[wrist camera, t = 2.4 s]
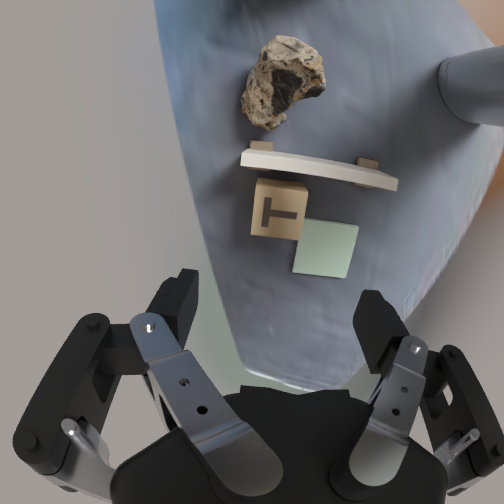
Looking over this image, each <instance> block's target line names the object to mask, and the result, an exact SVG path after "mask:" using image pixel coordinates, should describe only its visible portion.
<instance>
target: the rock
mask: <svg viewBox="0 0 504 504" xmlns="http://www.w3.org/2000/svg"><path fill="white" fill-rule="evenodd" d="M323 68H324V67H323V65H322V58H321V56H320V55H318V52H317V51H316V50H315V49H314V48H312V47H310V46H309V45H307V44H306V43H304V42H302V41H300V40H298V39H296V38H294V37H289V36H275V37H274V39H272V40H271V41H270V42H268V44H267V45H265V46H264V47H262V49H261V51H260V58H259V60H258V62H257V63H256V65H255V66H254V67H253V68H252V69H251V72H250V74H249V75H248V78H247V84H246V91H245V92H244V93H243V95H242V97H241V98H240V100H241V101H242V113H243V114H244V116H245V117H246V118H247V119H249V121H250V122H251V123H252V124H253V125H255V126H258V127H260V128H263V129H266V130H268V131H271V130H273V131H274V130H275V129H276V128H277V127H278V126H279V124H281V123H282V122H285V121H286V119H287V116H286V115H285V114H284V113H283V112H285V111H286V110H288V109H289V108H290V107H291V106H292V105H294V104H295V102H297V101H298V100H302V99H305V98H310V97H318V96H319V95H320V94H321V93H322V92H323V91H324V90H325V87H326V80H325V78H324V72H323Z"/></svg>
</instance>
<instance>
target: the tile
mask: <svg viewBox="0 0 504 504" xmlns="http://www.w3.org/2000/svg"><path fill="white" fill-rule="evenodd" d="M358 230H359V226H358V225H352V224H345V223H339V222H332V221H326V220H319V219H312V218H305V217H304V221H303V227H302V233H301V238H300V241H299V240H298V242H297V247H296V253H295V258H294V263H293V269H292V272H295V273H303V274H312V275H321V276H330V277H339V278H346V275H347V271H348V268H349V264H350V261H351V257H352V253H353V250H354V246H355V242H356V238H357V234H358Z"/></svg>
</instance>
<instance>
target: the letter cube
mask: <svg viewBox="0 0 504 504" xmlns="http://www.w3.org/2000/svg"><path fill="white" fill-rule="evenodd" d="M307 198H308V191H307V189H306V187H305V186H304V184H303V183H300V182H293V181H286V180H278V179H270V178H262V177H258V180H257V184H256V189H255V198H254V208H253V217H252V226H251V235H259V236H267V237H275V238H283V239H291V240H299V241H300V238H301V233H302V227H303V221H304V216H305V210H306V204H307Z"/></svg>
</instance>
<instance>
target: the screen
mask: <svg viewBox="0 0 504 504" xmlns="http://www.w3.org/2000/svg"><path fill="white" fill-rule="evenodd" d="M378 165H379V162H378V161H374V160H370V159H365V158H361V157H358V158H357V164H356V165H353V164H348V163H343V162H338V161H332V160H327V159H321V158H315V157H309V156H303V155H296V154H289V153H282V152H274V151H273V142H265V141H256V140H251V143H250V149H246V150H245V151H243V152H242V156H241V166H248V169H252V170H261V171H269V172H270V169H274V170H282V171H290V172H297V173H303V174H310V175H316V176H322V177H328V178H334V179H339V180H345V181H350V182H353V184H354V185H357V186H362V187H367V188H372V189H374V186H375V187H379V188H384V189H388V190H392V191H397V186H398V181H399V179H396V178H394V177H392V176H390V175H388V174H385V173H383V172H381V171H379V170H378Z"/></svg>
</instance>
